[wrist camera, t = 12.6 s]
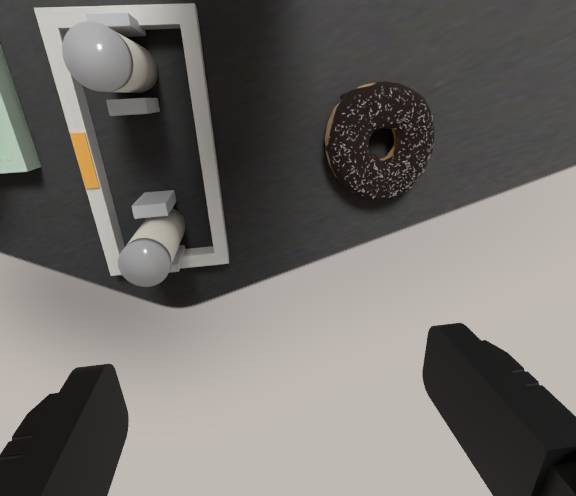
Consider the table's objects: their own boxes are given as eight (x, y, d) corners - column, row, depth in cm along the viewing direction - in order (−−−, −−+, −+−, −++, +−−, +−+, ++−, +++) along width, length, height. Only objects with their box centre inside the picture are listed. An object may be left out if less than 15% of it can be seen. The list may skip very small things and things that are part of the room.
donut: (413, 66, 35) (433, 62, 31) (430, 177, 40) (449, 185, 36) (308, 103, 35) (317, 104, 31) (338, 210, 40) (348, 221, 36)
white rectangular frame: (46, 13, 29) (11, -3, 25) (196, 9, 30) (189, -7, 26) (116, 267, 39) (100, 289, 34) (229, 256, 40) (228, 276, 35)
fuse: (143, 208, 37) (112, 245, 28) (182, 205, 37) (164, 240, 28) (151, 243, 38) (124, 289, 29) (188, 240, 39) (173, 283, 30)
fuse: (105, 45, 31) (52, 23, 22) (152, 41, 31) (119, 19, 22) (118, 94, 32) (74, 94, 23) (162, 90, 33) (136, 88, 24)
